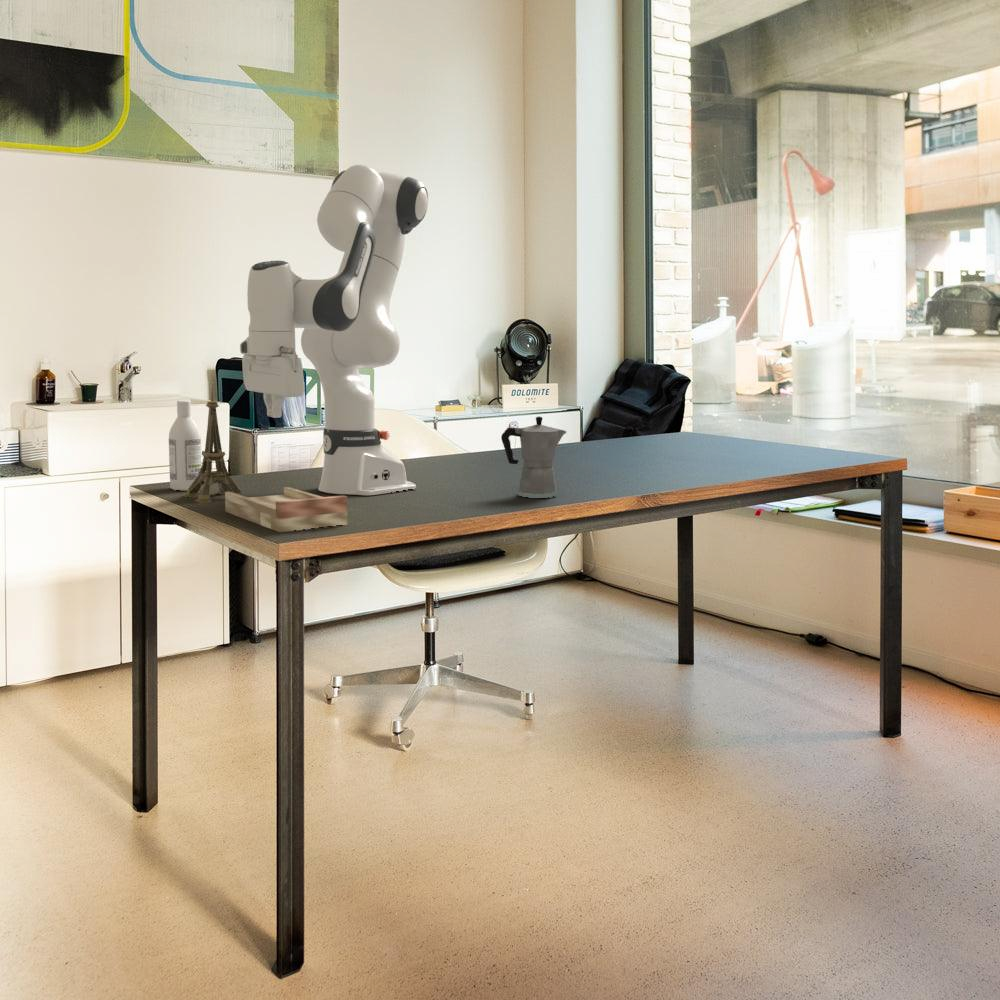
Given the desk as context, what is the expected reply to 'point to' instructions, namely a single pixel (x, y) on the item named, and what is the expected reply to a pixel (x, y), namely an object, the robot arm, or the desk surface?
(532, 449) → the coffeepot
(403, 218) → the robot arm
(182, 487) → the bath foam
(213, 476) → the eiffel tower
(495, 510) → the desk surface
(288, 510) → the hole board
